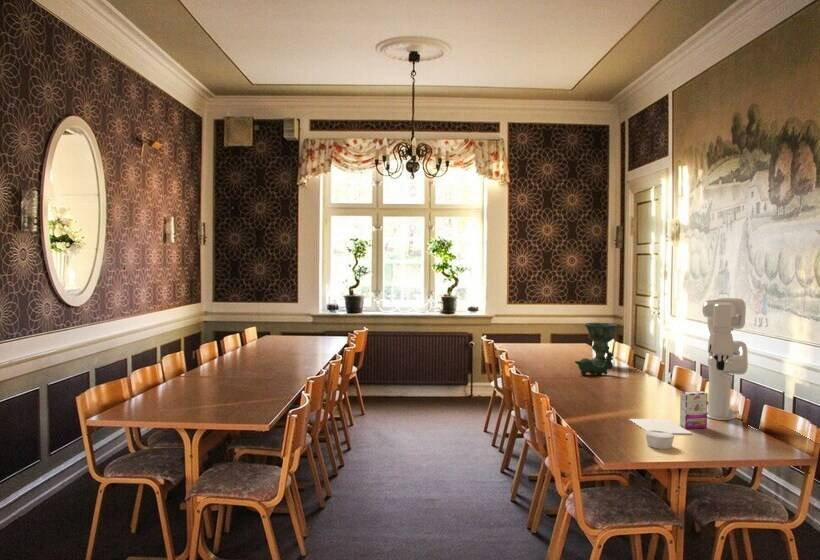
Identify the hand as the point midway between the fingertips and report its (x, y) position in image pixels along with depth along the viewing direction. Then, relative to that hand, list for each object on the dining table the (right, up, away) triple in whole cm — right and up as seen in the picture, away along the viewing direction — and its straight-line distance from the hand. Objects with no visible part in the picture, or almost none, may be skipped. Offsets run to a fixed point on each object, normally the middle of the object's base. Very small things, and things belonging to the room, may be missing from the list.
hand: (720, 369), depth 296 cm
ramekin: (-40, -28, -30) cm, 57 cm away
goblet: (-8, -20, +162) cm, 163 cm away
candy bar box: (-12, -27, +1) cm, 30 cm away
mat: (-28, -27, 0) cm, 39 cm away
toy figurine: (-23, -22, +126) cm, 130 cm away
